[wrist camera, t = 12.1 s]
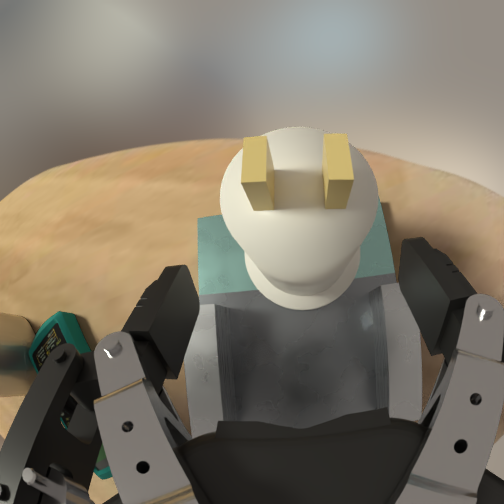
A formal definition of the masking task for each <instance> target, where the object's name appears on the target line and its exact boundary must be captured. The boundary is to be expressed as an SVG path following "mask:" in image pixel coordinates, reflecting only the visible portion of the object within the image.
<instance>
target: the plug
mask: <svg viewBox="0 0 504 504" xmlns="http://www.w3.org/2000/svg"><path fill="white" fill-rule="evenodd" d="M220 206H221V212H222V215H223V219H224V221H225V224H226V226H227V228H228V230H229V231H230V233H231V235H232V236H233V238H234V239H235V240H236V241H237V243H238V244H239V245H240V246H241V248H242V249H243V250H244V251H245V264H246V268H247V271H248V274H249V276H250V278H251V280H252V282H253V283H254V285H255V286H256V288H257V289H258V290H259V291H260V292H261V293H262V294H263V295H264V296H265V297H266V298H268V299H269V300H271V301H272V302H274V303H275V304H277V305H279V306H282V307H285V308H288V309H292V310H302V311H303V310H313V309H317V308H320V307H323V306H326V305H327V304H329V303H331V302H333V301H334V300H336V299H337V298H338V297H339V296H341V295H342V294H343V293H344V292H345V291H346V290H347V288H348V287H349V286H350V284H351V283H352V281H353V280H354V278H355V275H356V273H357V270H358V267H359V263H360V245H361V244H362V242H363V241H364V239H365V238H366V236H367V234H368V233H369V231H370V229H371V227H372V225H373V223H374V220H375V217H376V213H377V209H378V187H377V183H376V179H375V176H374V174H373V171H372V169H371V167H370V166H369V164H368V162H367V161H366V159H365V158H364V157H363V155H362V154H361V153H360V152H359V151H358V150H357V149H356V148H355V147H354V146H352V145H351V144H350V143H349V142H348V138H347V134H333V133H330V132H327V131H324V130H320V129H316V128H310V127H289V128H282V129H278V130H274V131H271V132H268V133H266V134H263V135H261V136H257V137H245V138H244V141H243V148H242V149H241V150H240V151H239V152H238V153H237V155H236V156H235V157H234V158H233V160H232V161H231V163H230V164H229V166H228V168H227V170H226V172H225V174H224V177H223V180H222V184H221V190H220Z"/></svg>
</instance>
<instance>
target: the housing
mask: <svg viewBox="0 0 504 504" xmlns="http://www.w3.org/2000/svg"><path fill="white" fill-rule="evenodd" d="M198 274H199V301H200V311H199V315H198V318H197V321H196V324H195V327H194V329H193V332H192V335H191V338H190V341H189V344H188V348H187V351H186V354H185V357H184V366H185V378H186V389H187V399H188V408H189V417H190V425H191V433H192V438H195V437H198V436H200V435H203V434H206V433H210V432H214V431H216V429H217V423H218V421H260V422H265V423H270V424H275V425H280V426H286V427H292V428H298V429H304V428H308V427H312V426H315V425H318V424H321V423H324V422H327V421H330V420H333V419H335V418H338V417H341V416H343V415H346V414H352V413H358V412H364V411H369V410H375V409H380V408H385V407H388V412H389V417H390V418H401V419H406V420H410V421H416V420H419V419H420V417H421V415H422V357H421V340H420V329H419V327H418V325H417V323H416V321H415V319H414V317H413V315H412V313H411V310H410V308H409V306H408V304H407V302H406V300H405V298H404V296H403V295H402V293H401V290H400V287H399V283H397V282H396V276H395V270H394V264H393V258H392V253H391V247H390V242H389V238H388V233H387V228H386V224H385V219H384V215H383V211H382V207H381V203H380V199H379V196H378V209H377V213H376V217H375V220H374V223H373V225H372V227H371V229H370V231H369V233H368V234H367V236H366V238H365V239H364V241H363V242H362V244H361V245H360V263H359V267H358V270H357V273H356V275H355V278H354V280H353V281H352V283H351V284H350V286H349V287H348V288H347V290H346V291H345V292H344V293H343V294H342V295H341V296H339V297H338V298H337V299H336V300H334V301H333V302H331V303H329V304H327V305H326V306H323V307H320V308H317V309H313V310H303V311H302V310H292V309H288V308H285V307H282V306H279V305H277V304H275V303H274V302H272V301H271V300H269V299H268V298H266V297H265V296H264V295H263V294H262V293H261V292H260V291H259V290H258V289H257V288H256V286H255V285H254V283H253V282H252V280H251V278H250V276H249V274H248V271H247V268H246V264H245V251H244V250H243V249H242V248H241V246H240V245H239V244H238V243H237V241H236V240H235V239H234V238H233V236H232V235H231V233H230V231H229V230H228V228H227V226H226V224H225V221H224V219H223V215H216V216H210V217H204V218H198Z"/></svg>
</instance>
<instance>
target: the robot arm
mask: <svg viewBox="0 0 504 504" xmlns="http://www.w3.org/2000/svg"><path fill="white" fill-rule="evenodd" d="M399 287H400V290H401V293H402V295H403V296H404V298H405V300H406V302H407V304H408V306H409V308H410V310H411V313H412V315H413V317H414V319H415V321H416V323H417V325H418V327H419V329H420V332H421V334H422V336H423V338H424V341H425V343H426V345H427V347H428V350H429V352H430V354H431V356H433V355H437V354H441V353H443V355H444V357H445V358H444V360H443V363H442V365H441V368H440V371H439V374H438V377H437V380H436V382H435V385H434V388H433V390H432V393H431V395H430V398H429V400H428V403H427V405H426V407H425V409H424V411H423V413H422V415H421V417H420V419H419V421H418V423H416V422H414V421H410V420H406V419H401V418H390V417H389V412H388V407H385V408H380V409H375V410H369V411H364V412H358V413H352V414H346V415H343V416H341V417H338V418H335V419H333V420H330V421H327V422H324V423H321V424H318V425H315V426H312V427H308V428H304V429H298V428H292V427H286V426H280V425H275V424H270V423H265V422H260V421H218V423H217V429H216V431H214V432H210V433H206V434H203V435H200V436H198V437H195V438H192V437H191V435H190V434H189V433H188V431H187V430H186V428H185V426H184V425H183V423H182V421H181V419H180V417H179V415H178V413H177V412H176V410H175V408H174V406H173V404H172V402H171V400H170V398H169V396H168V394H167V391H166V389H165V388H164V386H163V383H164V380H165V379H177V378H178V375H179V372H180V369H181V366H182V363H183V360H184V357H185V354H186V351H187V348H188V344H189V341H190V338H191V335H192V332H193V329H194V327H195V324H196V321H197V318H198V315H199V311H200V302H199V297H198V294H197V292H196V289H195V286H194V283H193V280H192V278H191V275H190V272H189V269H188V267H187V266H186V265H176V266H167V267H165V269H164V270H163V272H162V274H161V275H160V277H159V279H158V280H155V281H154V282H153V283H152V284H151V285H150V286H149V287H147V288H146V290H145V291H144V293H143V295H142V296H141V300H139V301H138V303H137V305H136V307H135V308H134V310H133V311H132V313H131V315H130V316H129V318H128V320H127V322H126V323H125V325H124V327H123V329H122V330H121V332H114V333H111V334H109V335H107V336H106V337H104V338H103V339H102V340H101V341H100V342H99V343H98V344H97V346H96V348H95V351H91V352H86V353H81V354H80V353H79V352H78V350H77V349H76V348H75V346H74V345H73V344H70V343H65V344H62V345H60V346H58V347H56V348H55V349H54V350H53V351H52V352H51V353H50V354H49V356H48V357H47V359H46V360H45V362H44V364H43V366H42V367H41V369H40V371H39V373H38V374H37V373H36V371H35V369H34V366H33V364H32V362H31V359H30V357H29V350H30V347H31V345H32V342H33V340H34V338H35V334H34V332H33V329H32V327H31V326H30V324H29V322H28V321H27V320H26V319H25V318H24V317H22V316H18V315H12V314H6V313H0V397H11V396H23V395H26V396H25V398H24V400H23V402H22V404H21V406H20V408H19V410H18V412H17V415H16V417H15V419H14V421H13V423H12V425H11V427H10V430H9V432H8V434H7V436H6V439H5V441H4V444H3V446H2V449H1V451H0V504H95V503H94V502H93V501H92V500H91V499H90V497H89V494H88V490H89V486H90V482H91V479H92V475H93V472H94V468H95V465H96V461H97V458H98V455H99V452H100V448H101V445H102V443H103V446H104V450H105V453H106V457H107V460H108V463H109V466H110V470H111V473H112V476H113V479H114V481H115V484H116V487H117V490H118V492H119V493H118V494H116V495H115V496H113V497H112V498H110V499H109V500H107V501H106V502H104V503H103V504H504V480H502V479H501V478H499V477H498V476H496V475H495V474H493V473H491V472H490V471H489V470H487V469H486V465H487V462H488V459H489V456H490V453H491V450H492V447H493V444H494V440H495V437H496V433H497V429H498V425H499V421H500V417H501V412H502V407H503V402H504V309H503V307H502V305H501V304H500V303H499V302H498V301H497V300H496V299H495V298H493V297H491V296H489V295H486V294H477V293H476V291H475V290H474V289H473V287H472V286H471V285H470V283H469V282H468V281H467V280H466V278H465V277H464V276H463V275H462V273H461V272H459V270H458V268H457V267H456V266H455V265H453V262H452V261H451V260H450V259H449V258H448V256H447V255H446V254H444V253H442V252H441V251H439V250H437V249H433V248H432V247H431V246H430V245H429V243H428V242H427V241H426V240H425V239H424V238H423V237H418V238H409V239H404V240H403V242H402V247H401V258H400V267H399ZM69 395H71V396H72V397H73V398H74V399H75V400H76V401H77V402H78V404H77V406H76V409H75V411H74V413H73V416H72V418H71V421H70V423H69V426H68V428H67V430H66V429H65V428H64V427H63V426H62V424H61V419H60V417H61V413H62V410H63V408H64V406H65V404H66V401H67V399H68V397H69Z"/></svg>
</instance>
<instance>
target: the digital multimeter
mask: <svg viewBox="0 0 504 504" xmlns="http://www.w3.org/2000/svg"><path fill="white" fill-rule="evenodd" d="M65 343H70V344H73V345H74V346H75V348H76V349H77V350H78V352H79V353H80V354H81V353H86V352H91V350H90V348H89V346H88V344H87V342H86V340H85V338H84V336H83V333H82V331H81V329H80V326H79V324H78V322H77V319H76V317H75V315H74V314H73V313H67V312H61V311H59V312H57V313H56V314H54V315H53V316H51V317H50V318H49V319H48V320H47V321H46V322H45V323H43V325H42V326H41V327H40V329H39V330H38V332H37V334H36V336H35V338H34V340H33V342H32V345H31V347H30V350H29V357H30V359H31V362H32V364H33V366H34V369H35V371H36V373H37V374H38V373H39V371H40V369H41V367H42V366H43V364H44V362H45V360H46V359H47V357H48V356H49V354H50V353H51V352H52V351H53V350H54V349H55V348H56V347H58V346H60V345H62V344H65ZM77 404H78V402H77V401H76V400H75V399H74V398H73V397H72V396H71V395H69V397H68V399H67V401H66V404H65V406H64V408H63V410H62V413H61V417H60V419H61V422H62V423H63V425H64V427H65V429H66V430H67V428H68V426H69V423H70V421H71V418H72V416H73V413H74V411H75V409H76V406H77ZM94 473H95V474H96V475H97V476H98V477H99V478H101V479H107V478H110V477H113V476H112V473H111V470H110V466H109V463H108V460H107V457H106V453H105V450H104V446H103V443H102V445H101V448H100V452H99V455H98V458H97V461H96V465H95V468H94Z"/></svg>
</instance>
